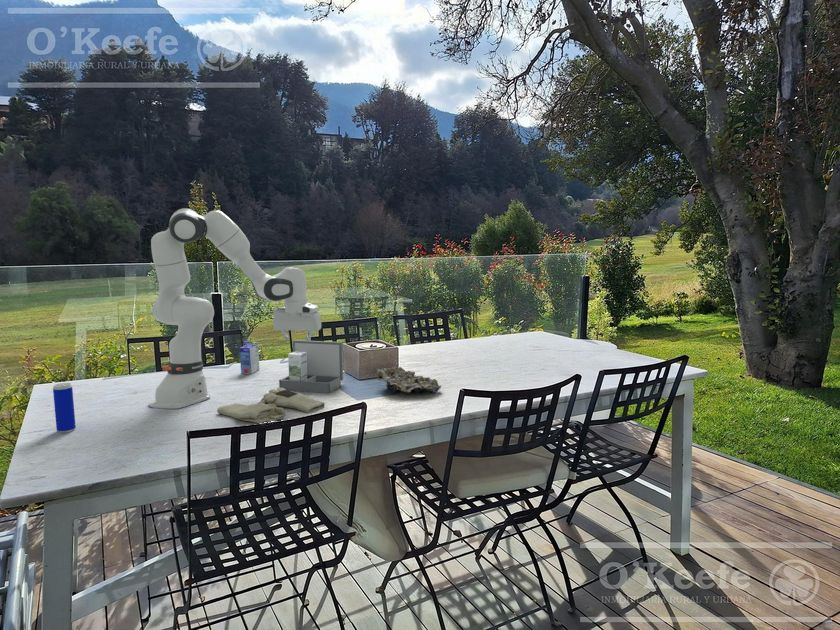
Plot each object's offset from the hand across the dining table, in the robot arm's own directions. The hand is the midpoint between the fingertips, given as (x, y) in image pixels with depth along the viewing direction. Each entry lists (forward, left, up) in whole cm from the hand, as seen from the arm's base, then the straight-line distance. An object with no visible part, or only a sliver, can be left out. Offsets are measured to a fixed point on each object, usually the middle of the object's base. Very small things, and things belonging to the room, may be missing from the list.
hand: (297, 341), depth 231 cm
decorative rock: (+6, -44, -20) cm, 49 cm away
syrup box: (0, 0, -20) cm, 20 cm away
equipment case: (+1, -5, -19) cm, 20 cm away
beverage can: (-67, +48, -20) cm, 85 cm away
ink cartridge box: (+21, +35, -20) cm, 45 cm away
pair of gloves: (-32, -5, -20) cm, 38 cm away
